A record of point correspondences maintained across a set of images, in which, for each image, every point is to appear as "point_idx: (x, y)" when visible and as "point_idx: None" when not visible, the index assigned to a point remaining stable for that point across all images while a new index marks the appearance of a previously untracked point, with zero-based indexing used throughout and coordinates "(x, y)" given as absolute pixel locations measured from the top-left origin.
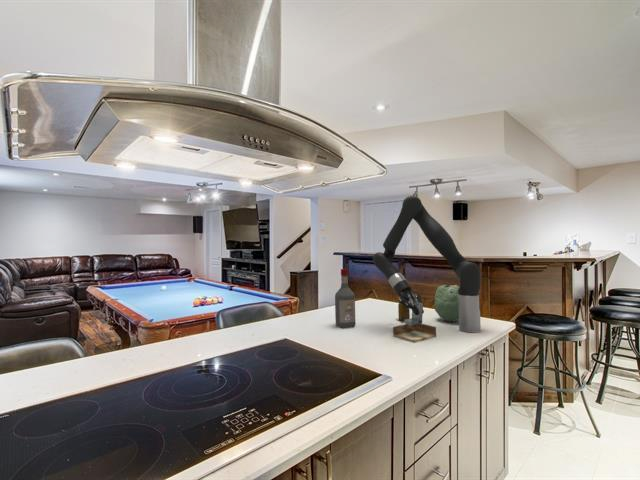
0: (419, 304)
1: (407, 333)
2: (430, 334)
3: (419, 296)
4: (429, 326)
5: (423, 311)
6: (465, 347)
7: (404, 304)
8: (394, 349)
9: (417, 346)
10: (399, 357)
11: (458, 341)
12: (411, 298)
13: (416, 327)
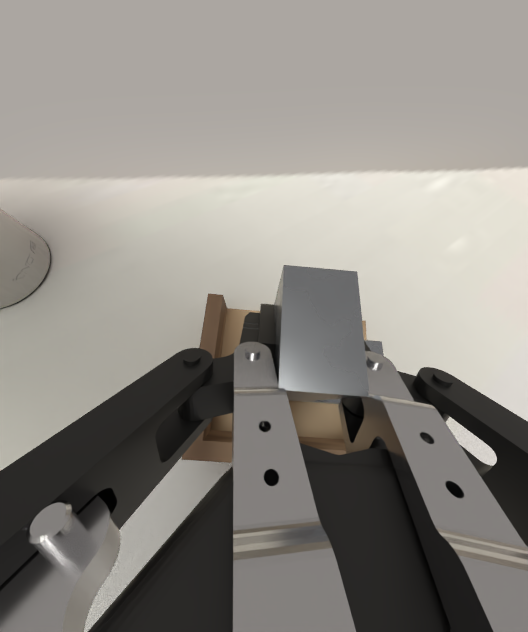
0: (356, 272)
1: (300, 415)
2: (231, 325)
3: (16, 480)
4: (219, 325)
5: (267, 304)
6: (263, 185)
7: (475, 467)
8: (478, 323)
9: (382, 289)
10: (509, 264)
11: (214, 225)
12: (402, 445)
13: (209, 425)
